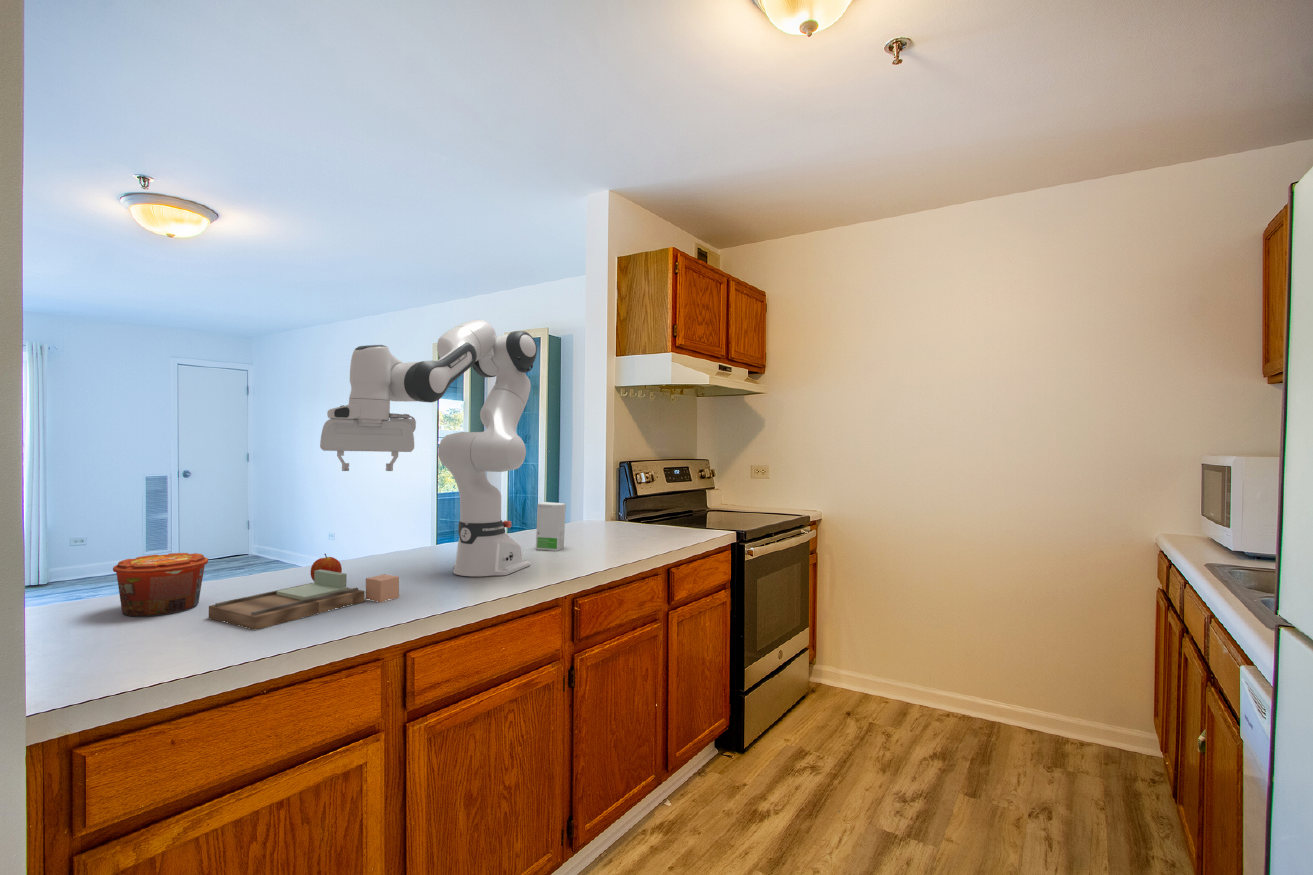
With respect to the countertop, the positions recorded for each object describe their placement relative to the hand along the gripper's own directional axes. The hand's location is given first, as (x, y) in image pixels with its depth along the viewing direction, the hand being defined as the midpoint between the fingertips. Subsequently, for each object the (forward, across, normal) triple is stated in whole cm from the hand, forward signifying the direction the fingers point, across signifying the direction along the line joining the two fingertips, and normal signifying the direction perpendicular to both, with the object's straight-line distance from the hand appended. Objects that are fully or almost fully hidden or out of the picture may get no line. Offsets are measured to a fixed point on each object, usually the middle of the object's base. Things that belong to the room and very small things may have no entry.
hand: (367, 470), depth 147 cm
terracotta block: (+29, -4, +5) cm, 30 cm away
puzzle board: (+30, +15, +6) cm, 34 cm away
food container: (+30, +39, -6) cm, 50 cm away
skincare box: (+28, -59, -41) cm, 78 cm away
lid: (+27, +11, +4) cm, 29 cm away
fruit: (+30, +8, -15) cm, 34 cm away
